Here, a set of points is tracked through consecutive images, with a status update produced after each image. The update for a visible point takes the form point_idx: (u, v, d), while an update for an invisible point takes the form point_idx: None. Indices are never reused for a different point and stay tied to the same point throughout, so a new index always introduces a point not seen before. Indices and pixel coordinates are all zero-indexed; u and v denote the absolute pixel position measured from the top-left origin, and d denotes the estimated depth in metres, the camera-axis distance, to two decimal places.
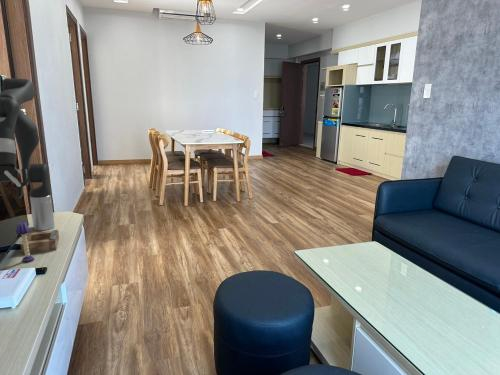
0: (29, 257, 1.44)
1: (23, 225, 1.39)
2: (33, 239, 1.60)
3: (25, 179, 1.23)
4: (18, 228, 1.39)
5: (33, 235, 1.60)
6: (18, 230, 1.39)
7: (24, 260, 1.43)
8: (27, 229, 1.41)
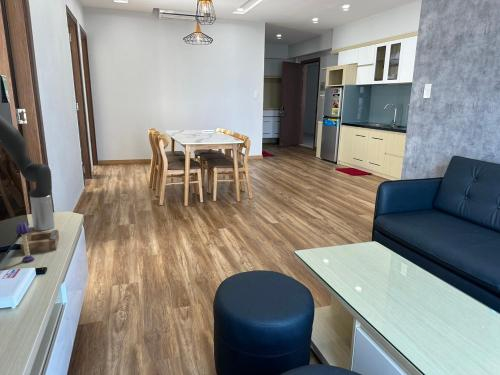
0: (29, 257, 1.44)
1: (23, 225, 1.39)
2: (33, 239, 1.60)
3: None
4: (18, 228, 1.39)
5: (33, 235, 1.60)
6: (18, 230, 1.39)
7: (24, 260, 1.43)
8: (27, 229, 1.41)
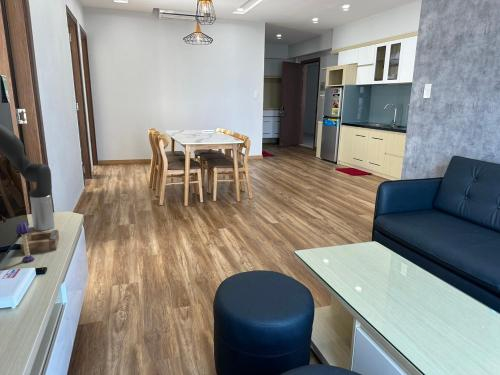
0: (29, 257, 1.44)
1: (23, 225, 1.39)
2: (33, 239, 1.60)
3: None
4: (18, 228, 1.39)
5: (33, 235, 1.60)
6: (18, 230, 1.39)
7: (24, 260, 1.43)
8: (27, 229, 1.41)
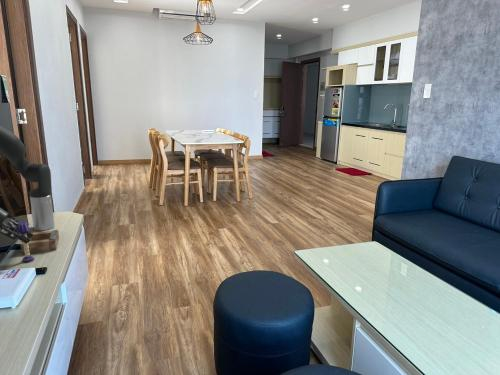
0: (29, 257, 1.44)
1: (23, 225, 1.40)
2: (33, 239, 1.60)
3: None
4: (18, 228, 1.39)
5: (33, 235, 1.60)
6: (18, 230, 1.39)
7: (24, 260, 1.43)
8: (27, 229, 1.41)
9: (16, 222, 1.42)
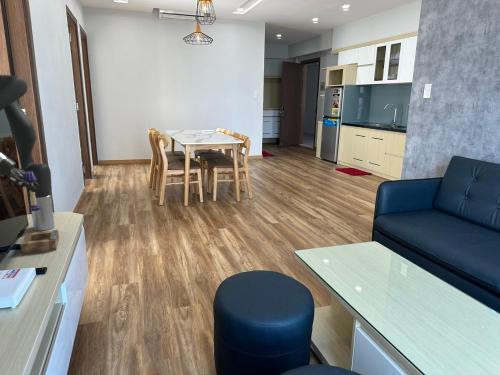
0: (36, 206, 1.51)
1: (30, 174, 1.46)
2: (33, 239, 1.60)
3: (18, 185, 1.42)
4: (25, 176, 1.46)
5: (33, 235, 1.60)
6: None
7: (31, 208, 1.49)
8: (34, 178, 1.47)
9: (23, 172, 1.48)
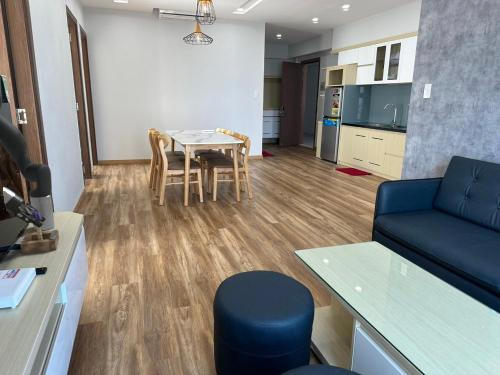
0: None
1: (37, 214, 1.53)
2: (33, 239, 1.60)
3: None
4: None
5: (33, 235, 1.60)
6: None
7: None
8: (40, 217, 1.54)
9: (30, 207, 1.55)
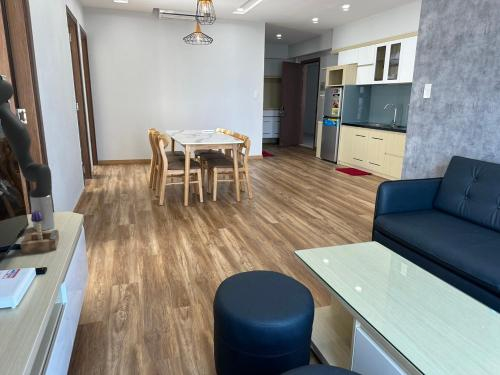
0: None
1: (37, 213, 1.53)
2: (33, 239, 1.60)
3: None
4: (33, 216, 1.53)
5: (33, 235, 1.60)
6: (33, 218, 1.53)
7: None
8: (41, 217, 1.54)
9: (3, 181, 1.47)
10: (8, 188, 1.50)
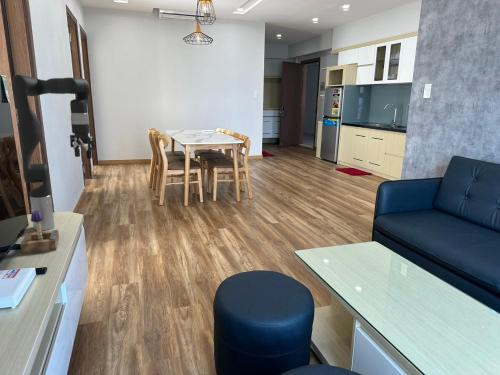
0: None
1: (37, 213, 1.53)
2: (33, 239, 1.60)
3: (89, 145, 1.60)
4: (33, 216, 1.53)
5: (33, 235, 1.60)
6: (33, 218, 1.53)
7: None
8: (41, 217, 1.54)
9: None
10: (77, 148, 1.67)
